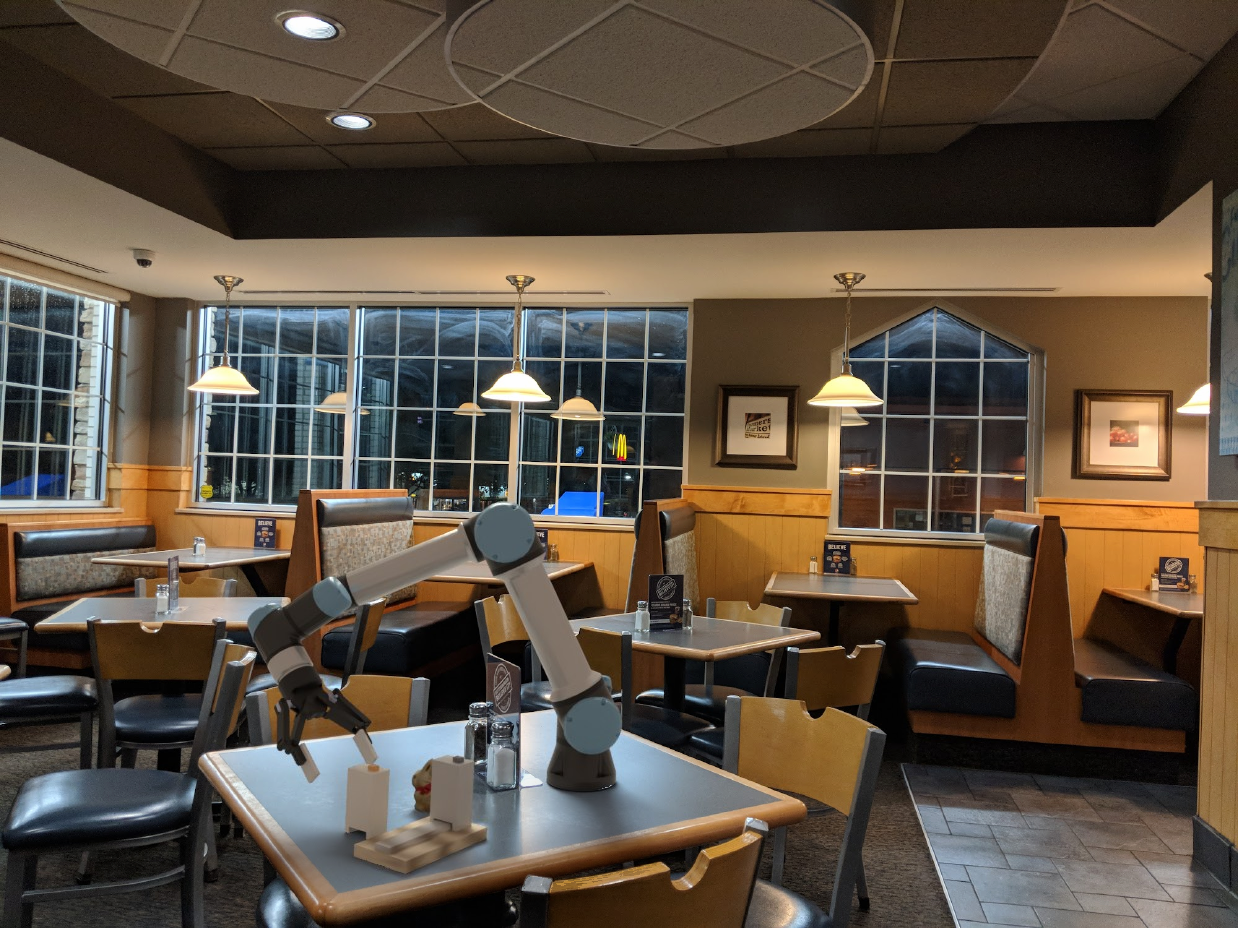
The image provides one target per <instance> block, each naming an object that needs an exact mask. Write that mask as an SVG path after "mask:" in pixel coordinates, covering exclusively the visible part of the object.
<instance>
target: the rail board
mask: <svg viewBox="0 0 1238 928" xmlns="http://www.w3.org/2000/svg"><path fill="white" fill-rule="evenodd" d="M452 825H453V823H449V822H446V821H442V820H439V819H437V820H434V821H431V822H430V815H428V816H426V817H423V818H421V819H418V820H415V821H412V822H410V823H407V824H405V825H402V826H400V827H396V828H395V829H391V830H389V831H388V830H387V832H386V833H383V834H380V835H378V836H375V837H372V838H370V839H364V840H362V841H360V842H357V843H354V844H353V857H354V858H357V859H360V860H363V861H366V860H367V861H366V862H369V863H372V864H374V865H377V864H378V865H377V866H380V865H382V866H381V867H383V866H385V867H384V868H386V869H389V868H390V869H389V870H392V871H396V872H399V873H402V874H404V875H406V874H408V873H409V874H410V872H413V871H416V870H418V869H421V868H422V867H425V866H426V865H429V864H431V863H434V862H436V861H438V860H441V859H443V858H445V857H448V856H450V855H452V854H454V853H457V852H459V851H461V850H463V849H466V848H468V847H470V846H473V845H476V844H477V843H479V842H482V841H484V840H487V839H488V838H487V837H488V836H487V835H488V827H487V826H483V825H480V824H478V823H473V822H472V824H471V826H469V827H466V828H464V829H461V830H459V831H453V830H452Z"/></svg>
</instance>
